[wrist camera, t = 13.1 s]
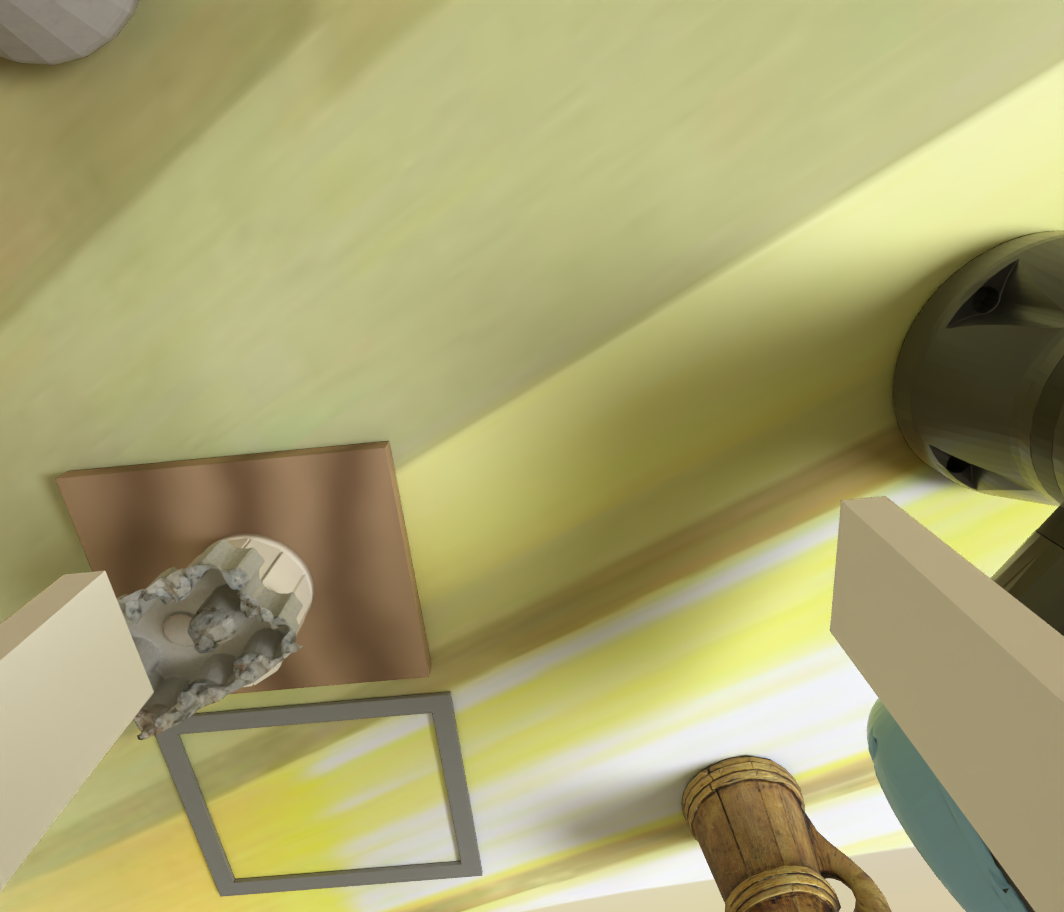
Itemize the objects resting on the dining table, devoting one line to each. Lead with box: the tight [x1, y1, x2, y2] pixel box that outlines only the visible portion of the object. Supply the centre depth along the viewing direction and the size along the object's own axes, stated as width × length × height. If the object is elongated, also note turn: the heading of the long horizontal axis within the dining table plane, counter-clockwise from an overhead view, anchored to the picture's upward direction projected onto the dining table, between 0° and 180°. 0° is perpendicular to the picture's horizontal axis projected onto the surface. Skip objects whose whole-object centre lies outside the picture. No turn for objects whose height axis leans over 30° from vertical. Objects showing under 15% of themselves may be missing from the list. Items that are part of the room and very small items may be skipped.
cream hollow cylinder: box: [187, 533, 314, 687], centre depth 38 cm, size 8×8×5 cm
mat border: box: [155, 692, 482, 896], centre depth 49 cm, size 22×19×1 cm
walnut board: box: [55, 441, 431, 694], centre depth 41 cm, size 20×17×1 cm
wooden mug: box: [682, 757, 891, 912], centre depth 41 cm, size 9×14×18 cm, turn 100°
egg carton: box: [117, 539, 303, 740], centre depth 33 cm, size 11×8×4 cm
